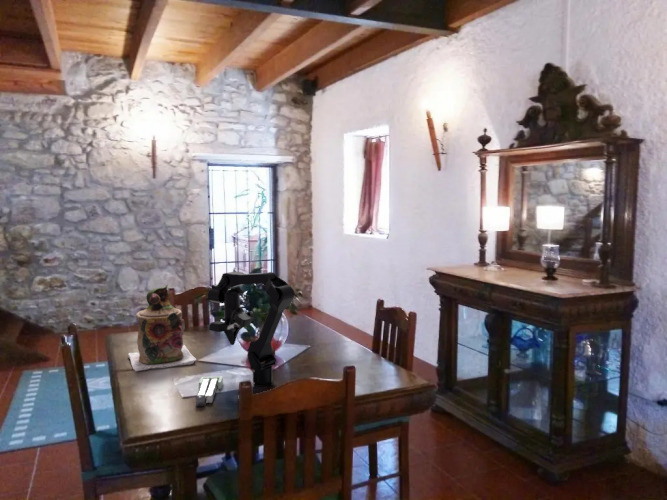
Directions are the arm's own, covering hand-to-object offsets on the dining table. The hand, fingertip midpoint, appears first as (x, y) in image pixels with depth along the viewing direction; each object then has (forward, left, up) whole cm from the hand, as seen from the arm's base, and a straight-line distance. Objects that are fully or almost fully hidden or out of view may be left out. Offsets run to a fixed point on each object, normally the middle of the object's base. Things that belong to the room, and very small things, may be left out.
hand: (232, 344), depth 204 cm
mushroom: (-12, -18, -12) cm, 25 cm away
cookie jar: (+31, -21, -12) cm, 40 cm away
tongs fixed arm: (+5, +20, -12) cm, 24 cm away
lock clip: (+7, +12, -12) cm, 18 cm away
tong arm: (+8, +21, -12) cm, 26 cm away
